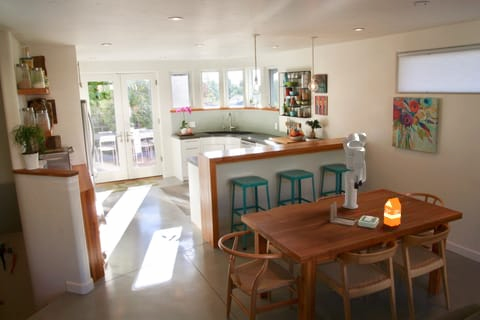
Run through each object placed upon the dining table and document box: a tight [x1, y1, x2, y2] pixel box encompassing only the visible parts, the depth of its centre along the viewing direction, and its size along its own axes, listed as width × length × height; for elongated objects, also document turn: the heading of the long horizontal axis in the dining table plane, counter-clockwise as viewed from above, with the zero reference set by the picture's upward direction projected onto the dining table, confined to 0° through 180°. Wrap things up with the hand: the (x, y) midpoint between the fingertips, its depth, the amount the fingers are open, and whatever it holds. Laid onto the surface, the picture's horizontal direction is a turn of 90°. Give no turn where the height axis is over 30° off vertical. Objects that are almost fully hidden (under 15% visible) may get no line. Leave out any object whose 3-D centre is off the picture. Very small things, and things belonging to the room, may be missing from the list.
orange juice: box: [383, 197, 402, 227], centre depth 296 cm, size 8×9×20 cm
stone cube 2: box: [364, 218, 372, 223], centre depth 295 cm, size 4×4×4 cm
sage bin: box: [357, 215, 380, 229], centre depth 297 cm, size 14×12×4 cm
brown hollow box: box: [329, 200, 359, 227], centre depth 302 cm, size 15×17×14 cm
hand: (357, 187), depth 300 cm, fingers open, 9 cm apart
